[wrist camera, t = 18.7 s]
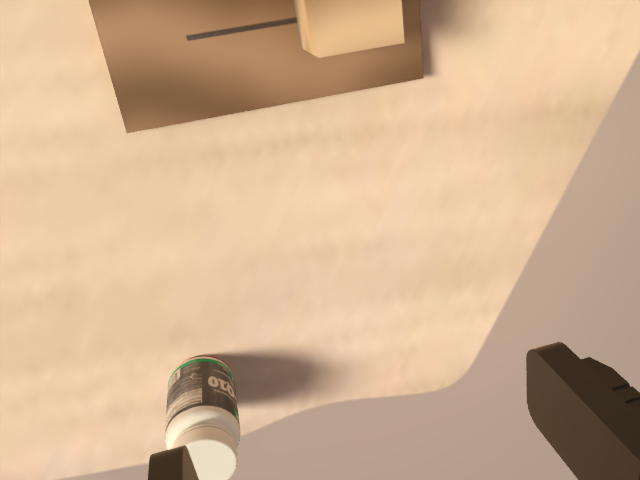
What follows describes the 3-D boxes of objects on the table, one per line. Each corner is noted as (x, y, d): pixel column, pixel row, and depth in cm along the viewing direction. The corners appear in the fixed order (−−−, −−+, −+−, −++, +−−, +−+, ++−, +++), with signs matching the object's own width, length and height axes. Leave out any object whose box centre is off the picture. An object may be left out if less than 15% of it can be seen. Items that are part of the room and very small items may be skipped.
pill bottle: (243, 390, 44) (255, 476, 36) (185, 416, 43) (185, 507, 36) (217, 343, 41) (225, 424, 34) (156, 370, 41) (149, 456, 34)
